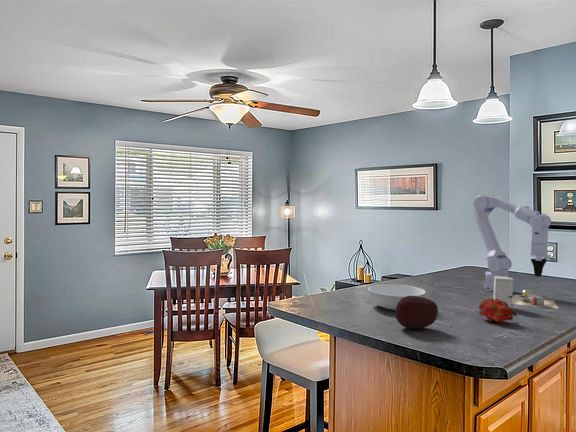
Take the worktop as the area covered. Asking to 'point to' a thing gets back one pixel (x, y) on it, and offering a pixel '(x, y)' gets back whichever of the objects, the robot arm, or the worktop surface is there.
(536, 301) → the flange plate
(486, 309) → the dragon fruit
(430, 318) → the potato
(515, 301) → the board
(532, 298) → the dowel
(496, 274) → the robot arm
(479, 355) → the worktop surface
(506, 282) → the skincare box
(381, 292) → the serving bowl
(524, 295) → the post
